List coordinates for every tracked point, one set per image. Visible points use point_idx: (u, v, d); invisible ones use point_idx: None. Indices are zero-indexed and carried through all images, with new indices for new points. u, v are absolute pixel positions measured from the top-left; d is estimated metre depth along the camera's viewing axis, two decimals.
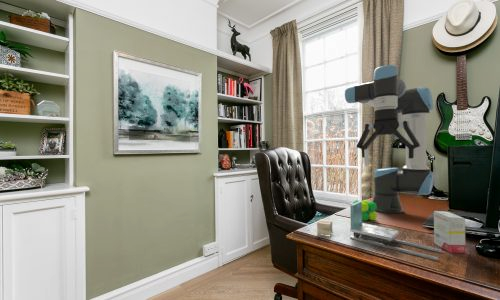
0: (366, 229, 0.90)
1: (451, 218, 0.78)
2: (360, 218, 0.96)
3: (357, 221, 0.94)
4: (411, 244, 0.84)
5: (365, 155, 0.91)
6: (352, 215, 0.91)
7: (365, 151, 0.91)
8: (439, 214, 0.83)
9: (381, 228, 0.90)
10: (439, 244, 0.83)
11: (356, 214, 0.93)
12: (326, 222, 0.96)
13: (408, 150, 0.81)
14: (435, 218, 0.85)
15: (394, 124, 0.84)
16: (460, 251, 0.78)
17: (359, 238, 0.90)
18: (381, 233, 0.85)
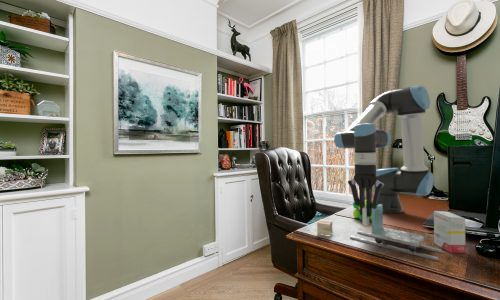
0: (389, 234, 0.84)
1: (451, 218, 0.78)
2: (381, 222, 0.90)
3: (378, 225, 0.88)
4: None
5: (363, 214, 0.91)
6: (374, 219, 0.85)
7: (363, 210, 0.91)
8: (439, 214, 0.83)
9: (405, 233, 0.85)
10: (439, 244, 0.83)
11: (377, 218, 0.87)
12: (326, 222, 0.96)
13: (366, 209, 0.90)
14: (435, 218, 0.85)
15: (372, 179, 0.89)
16: (460, 251, 0.78)
17: (359, 238, 0.90)
18: (406, 239, 0.80)
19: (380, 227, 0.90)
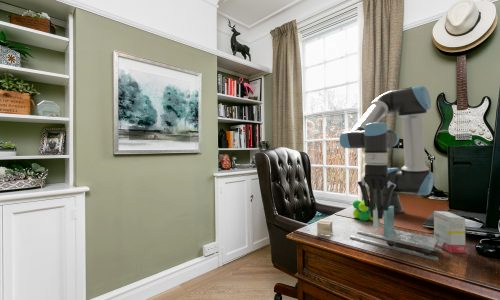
0: (401, 237, 0.82)
1: (451, 218, 0.78)
2: (392, 224, 0.87)
3: (390, 228, 0.85)
4: None
5: (374, 215, 0.88)
6: (385, 221, 0.83)
7: (374, 211, 0.88)
8: (439, 214, 0.83)
9: (418, 236, 0.82)
10: (439, 244, 0.83)
11: (389, 220, 0.85)
12: (326, 222, 0.96)
13: (377, 211, 0.88)
14: (435, 218, 0.85)
15: (384, 180, 0.86)
16: (460, 251, 0.78)
17: (359, 238, 0.90)
18: (420, 242, 0.77)
19: (392, 229, 0.87)
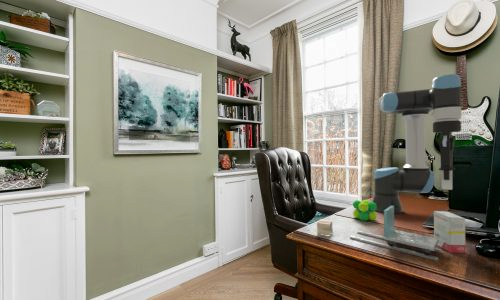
0: (402, 237, 0.82)
1: (451, 218, 0.78)
2: (392, 224, 0.87)
3: (390, 228, 0.85)
4: None
5: (442, 176, 0.83)
6: (386, 221, 0.83)
7: None
8: (439, 214, 0.83)
9: (418, 236, 0.82)
10: (439, 244, 0.83)
11: (389, 220, 0.85)
12: (326, 222, 0.96)
13: (442, 171, 0.82)
14: (435, 218, 0.85)
15: (441, 137, 0.80)
16: (460, 251, 0.78)
17: (359, 238, 0.90)
18: (420, 242, 0.77)
19: (392, 229, 0.87)
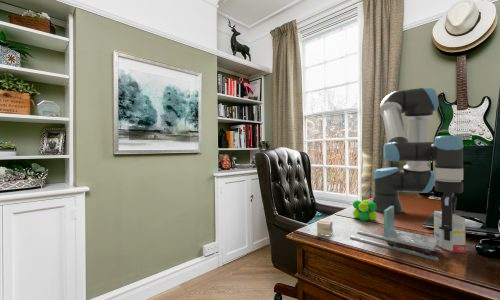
0: (402, 237, 0.82)
1: None
2: (392, 224, 0.87)
3: (390, 228, 0.85)
4: None
5: None
6: (386, 221, 0.83)
7: None
8: (439, 214, 0.83)
9: (418, 236, 0.82)
10: (439, 244, 0.83)
11: (389, 220, 0.85)
12: (326, 222, 0.96)
13: (443, 230, 0.79)
14: (435, 218, 0.85)
15: None
16: (460, 251, 0.78)
17: (359, 238, 0.90)
18: (420, 242, 0.77)
19: (392, 229, 0.87)
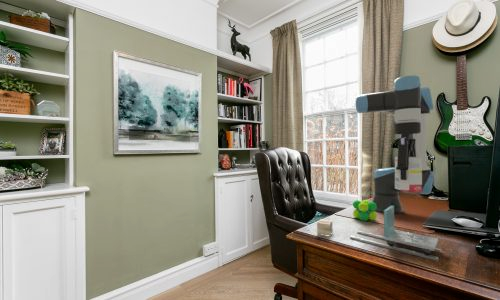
0: (402, 237, 0.82)
1: None
2: (392, 224, 0.87)
3: (390, 228, 0.85)
4: None
5: None
6: (386, 221, 0.83)
7: None
8: None
9: (418, 236, 0.82)
10: (398, 188, 0.83)
11: (389, 220, 0.85)
12: (326, 222, 0.96)
13: (400, 170, 0.78)
14: (396, 163, 0.84)
15: None
16: (417, 191, 0.77)
17: (359, 238, 0.90)
18: (420, 242, 0.77)
19: (392, 229, 0.87)
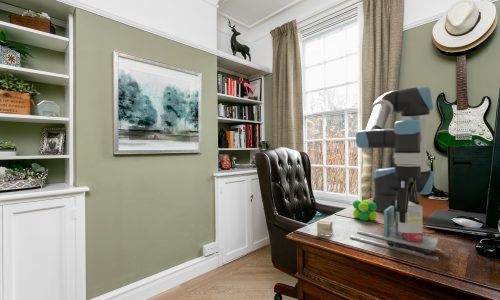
0: (402, 237, 0.82)
1: (409, 206, 0.78)
2: (392, 224, 0.87)
3: (390, 228, 0.85)
4: None
5: None
6: (386, 221, 0.83)
7: None
8: None
9: None
10: (399, 233, 0.83)
11: (389, 220, 0.85)
12: (326, 222, 0.96)
13: (398, 212, 0.77)
14: None
15: None
16: (417, 239, 0.78)
17: (359, 238, 0.90)
18: (420, 242, 0.77)
19: (392, 229, 0.87)
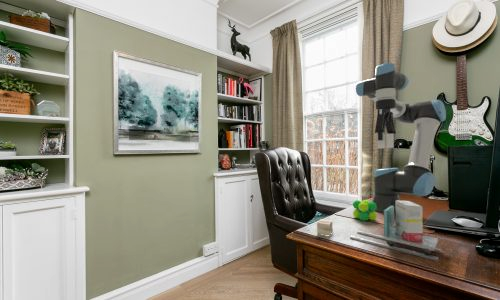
0: (402, 237, 0.82)
1: (409, 206, 0.78)
2: (392, 224, 0.87)
3: (390, 228, 0.85)
4: None
5: None
6: (386, 221, 0.83)
7: None
8: (399, 203, 0.83)
9: None
10: (399, 233, 0.83)
11: (389, 220, 0.85)
12: (326, 222, 0.96)
13: (377, 133, 1.00)
14: (396, 208, 0.85)
15: None
16: (417, 239, 0.78)
17: (359, 238, 0.90)
18: (420, 242, 0.77)
19: (392, 229, 0.87)
